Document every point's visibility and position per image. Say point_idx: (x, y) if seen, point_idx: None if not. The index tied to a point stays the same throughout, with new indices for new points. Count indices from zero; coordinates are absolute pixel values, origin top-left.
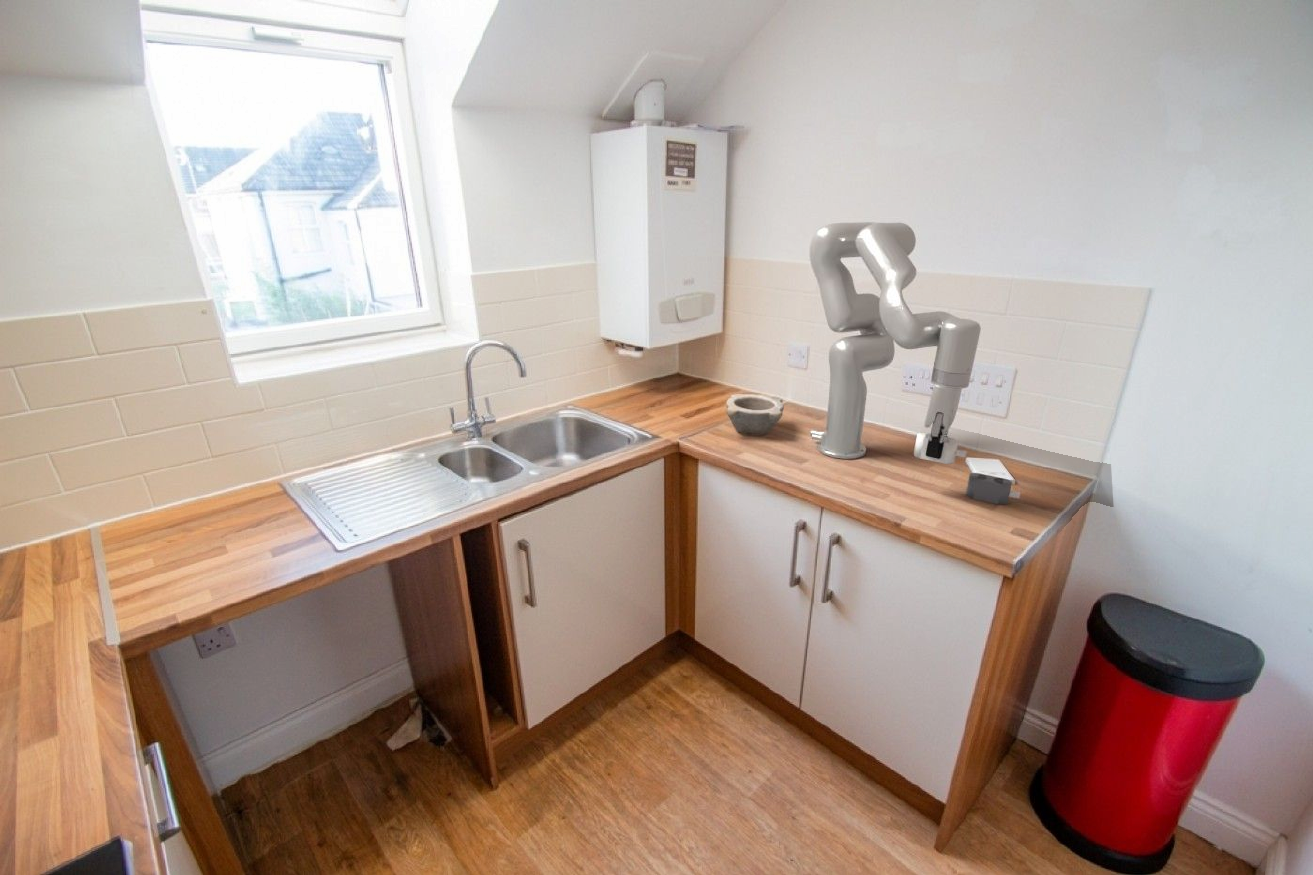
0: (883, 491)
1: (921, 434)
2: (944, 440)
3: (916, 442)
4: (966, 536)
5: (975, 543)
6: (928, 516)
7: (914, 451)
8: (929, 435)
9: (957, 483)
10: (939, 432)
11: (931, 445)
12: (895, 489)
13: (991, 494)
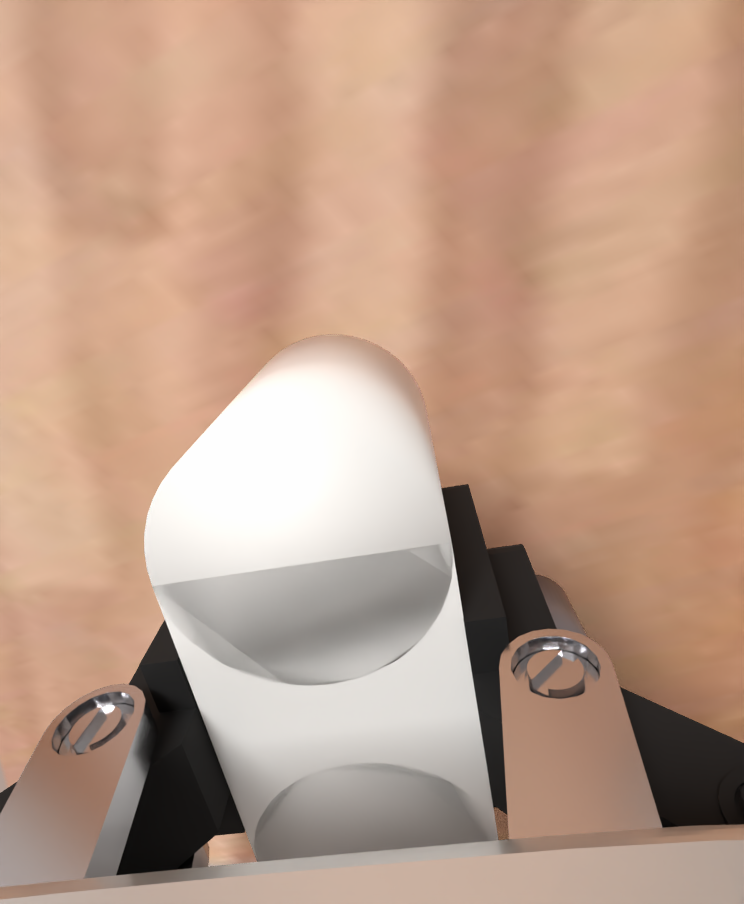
0: (175, 173)
1: (300, 487)
2: (322, 814)
3: (221, 413)
4: (56, 707)
5: (32, 745)
6: (90, 527)
7: (266, 364)
8: (360, 607)
9: (644, 496)
10: (494, 752)
11: (139, 676)
12: (272, 227)
13: None
